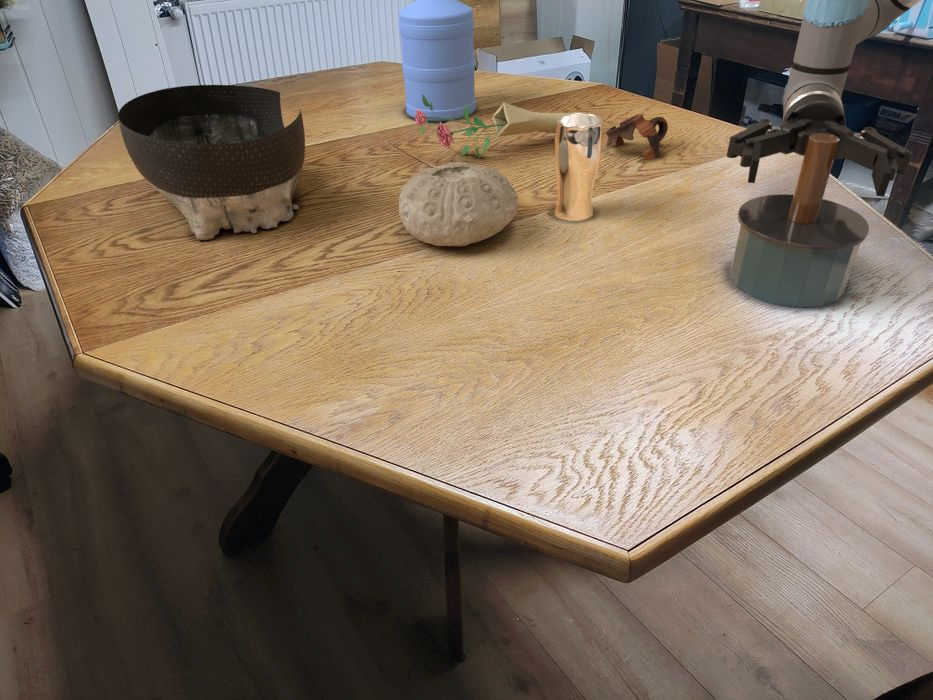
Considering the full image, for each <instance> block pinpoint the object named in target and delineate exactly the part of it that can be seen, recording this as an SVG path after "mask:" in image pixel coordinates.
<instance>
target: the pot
mask: <svg viewBox="0 0 933 700" xmlns="http://www.w3.org/2000/svg"><path fill="white" fill-rule="evenodd" d="M860 245H861V243H860V244H858V245H856V246H853V247H850V248H846V249H841V250H833V251H810V250H801V249H794V248H789V247H784V246H781V245H777V244H773V243H771V242H768V241H765V240H763V239H760V238H758V237H756V236H754V235H753V234H751V233H749V232H748V231H747V230H745V229H744V228H743V227H742V226H741V224H740V223H739V229H738V234H737V238H736V243H735V247H734V252H733V255H732V261H731V265H730V272H729V278H730V280H731V281H732V283H733V284H734V285H735V286H736V288H738V289H739V290H740V291H742V292H743V293H744V294H746V295H748V296H749V297H751V298H754V299H755V300H759V301H761V302H764V303H766V304H770V305H775V306H779V307H784V308H785V307H786V308H791V309H792V308H794V309H813V308H820V307H824V306H827V305H830V304H833V303H835V302H836V301H838V300H839V299H840V298H841V296H842V295H843V294H844V293H845V289H846V287H847V284H848V282H849V278H850V275H851V273H852V269H853V266H854V263H855V260H856V257H857V255H858V252H859V248H860Z"/></svg>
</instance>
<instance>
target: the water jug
mask: <svg viewBox="0 0 933 700" xmlns="http://www.w3.org/2000/svg"><path fill="white" fill-rule="evenodd" d="M474 23H475V20H474V11H473V8H472V7H471V6H470V5H468V4H466V3H464V2H462V1H460V0H414V1H413V2H411V3H409V4H408V5H406V6H404V7H403V8H402V9H400V10H399V12H398V30H399V35H400V44H401V55H402V65H401V67H402V74H403V81H404V94H405V105H404V106H405V111H406V114H407V115H408V116H409V117H410V118H412V119H416V118H415V116H416V110H417V109H419V110H421V111H422V110H423V112H424V113H425V115H426V116H427V117H440V118H447V119H452V120H459V119H460V120H461V119H464V118H463V115H464V109H465V107H466V105H467V104H468V108H469V112H468V113H469V116H471V115H472V114H473V113H475V111H476V108H477V99H476V95H475V94H476V92H475V72H476V71H475V70H476V61H475V47H474V45H475V43H474V31H475V29H474V28H475V24H474ZM422 95H424V96H425V98H426V99H427V101H428V103H429V104H430V107H431V102H432V106H433V108H434V109H432V110H434V111H431V110H430V107H428V106H425V105H424V104H423V101H422ZM433 113H434V114H433ZM441 120H442V121H441ZM427 121H428V122H429V123H437V122H438V123H440V122H441V123H446V122H449V121H450V120H445V119H444V120H443V119H437V118H427ZM439 121H440V122H439ZM428 122H427V123H428Z"/></svg>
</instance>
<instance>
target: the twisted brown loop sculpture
mask: <svg viewBox="0 0 933 700" xmlns="http://www.w3.org/2000/svg"><path fill="white" fill-rule="evenodd" d="M657 126H658V131H657V128H656V127H657ZM668 128H669V124H668V121H667V120H666V118H665V117H663V116H655V117H653V118H651V119H649V120H648V119H645V117H644V115H643V113H638V114H635V115H633V116H631V117H628V118H627V119H625V120H622V121H621V122H620V123H619V126H616V125H613V126H612V127H610V128H609V129H608V130H606V132H605V134H606V135H607V141H606V146H611V145H613V146H614V147H617V146H623V145H624V143H625V140H627V141H633V140H634V132H635V130H637V131H638V132H639V133H638V134H640V135H641V136H642V138H645V139H647V141H648V145H649V147H648V148H647V149H645V150H643V151H642V152H641V154H642V156H643V158H644V161H646V162H647V161H651V160H652V161H653V160H656V159H657V158H659V157H660V156H661V149H660V143H661V141H663V139H664V138H665V137H666V135H667V133H668V130H669V129H668Z"/></svg>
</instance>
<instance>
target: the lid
mask: <svg viewBox="0 0 933 700" xmlns="http://www.w3.org/2000/svg"><path fill="white" fill-rule="evenodd" d="M839 141H840V139H839V138H838V137H837V136H834V135H831V134H824V133H816V134H812V135H810V136H809V139H808V143H807V146H806V150H805V154H804V156H803V158H802V162H801V164H800V169H799V173H798V177H797V181H796V185H795V188H794V192H793V194H787V193H785V194H769V195H768V194H767V195H761V196H757V197H754V198H751V199H749V200H747V201H745V202H744V203H742V204H741V205H740V207H739V208H738V211H737V221H738V223H739V225H740V224H741V226H742V227H743V228H744V229H745V230H747V231H748V232H749V233H751V234H753V235H754V236H756V237H758V238H760V239H763V240H765V241H768V242H771V243H773V244H777V245H781V246H784V247H789V248H794V249H801V250H810V251H833V250H841V249H846V248H850V247H853V246H856V245H858V244H860V245H861V244H862V243H863V242H864V241H865V240H866V239H867V238H868V235H869V232H870V226H869V223H868V221H867V220H866V219H865V217H863V216H862V215H861V214H860V213H858V212H857V211H856V210H854V209H852V208H850V207H847V206H846V205H843V204H840V203H838V202H835V201H832V200H828V199H825V198H824V195H825V192H826V188H827V185H828V182H829V178H830V175H831V171H832V167H833V166H834V165H833V164H834V161H835V154H836V151H837V148H838V144H839Z"/></svg>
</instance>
